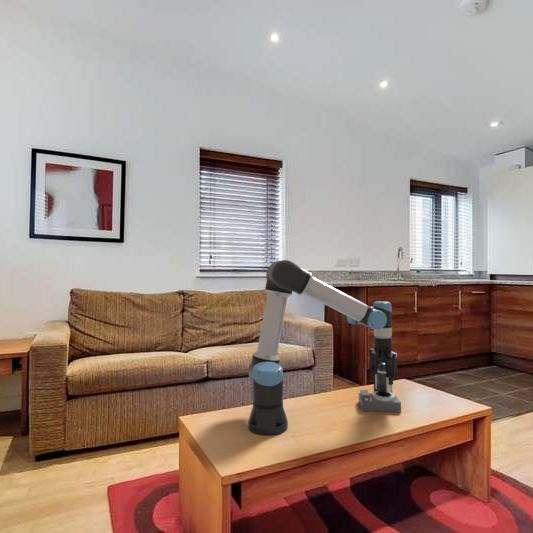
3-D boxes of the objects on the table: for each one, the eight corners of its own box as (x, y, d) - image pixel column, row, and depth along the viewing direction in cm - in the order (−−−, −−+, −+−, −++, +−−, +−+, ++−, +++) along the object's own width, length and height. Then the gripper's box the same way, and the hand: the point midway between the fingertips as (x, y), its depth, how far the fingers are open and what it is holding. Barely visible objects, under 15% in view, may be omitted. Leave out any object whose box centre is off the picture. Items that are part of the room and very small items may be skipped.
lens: (385, 399, 160) (384, 365, 160) (374, 396, 164) (374, 363, 164) (392, 396, 163) (392, 363, 163) (382, 393, 167) (381, 361, 167)
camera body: (362, 410, 159) (362, 396, 159) (358, 401, 170) (358, 388, 170) (401, 412, 157) (400, 397, 157) (395, 403, 168) (394, 389, 168)
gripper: (406, 338, 159) (407, 393, 159) (371, 333, 173) (371, 383, 173) (396, 340, 155) (396, 397, 154) (360, 335, 169) (361, 387, 168)
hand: (383, 390), depth 164 cm, fingers closed on lens, 5 cm apart
